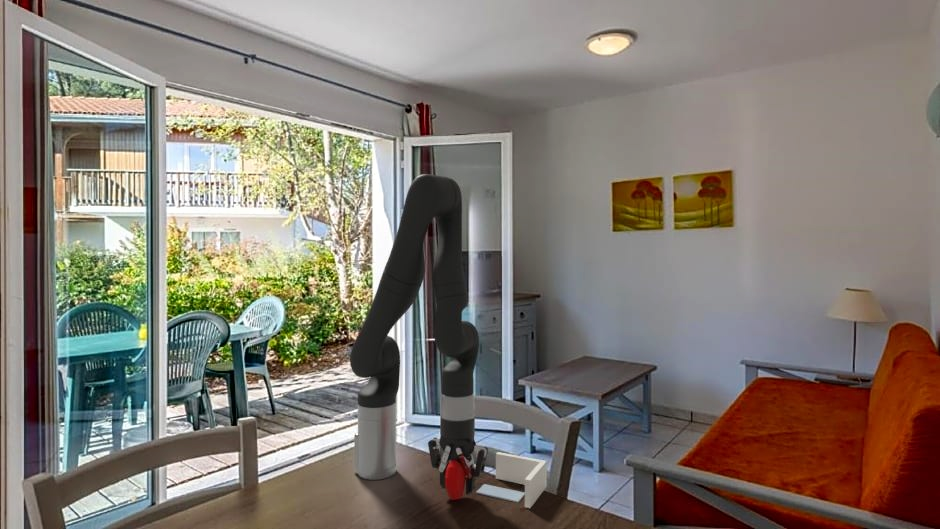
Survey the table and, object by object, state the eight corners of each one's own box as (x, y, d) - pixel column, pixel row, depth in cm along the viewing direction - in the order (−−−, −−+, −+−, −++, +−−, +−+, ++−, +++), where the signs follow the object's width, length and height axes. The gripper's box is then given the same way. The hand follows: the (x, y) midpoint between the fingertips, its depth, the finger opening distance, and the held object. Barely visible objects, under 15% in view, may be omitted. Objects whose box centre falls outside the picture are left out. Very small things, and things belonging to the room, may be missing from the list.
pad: (476, 493, 117) (476, 491, 117) (484, 485, 121) (484, 483, 121) (518, 502, 113) (518, 501, 113) (525, 494, 117) (525, 492, 117)
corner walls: (477, 496, 116) (477, 469, 115) (497, 476, 126) (497, 452, 126) (530, 508, 110) (530, 480, 110) (546, 486, 120) (546, 461, 120)
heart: (461, 517, 108) (459, 472, 107) (441, 515, 109) (439, 470, 107) (472, 484, 120) (471, 443, 118) (454, 482, 121) (452, 442, 119)
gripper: (420, 413, 114) (420, 490, 114) (480, 423, 107) (480, 505, 108) (437, 404, 120) (437, 477, 121) (494, 413, 114) (494, 490, 115)
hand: (457, 490), depth 114 cm, fingers open, 5 cm apart
